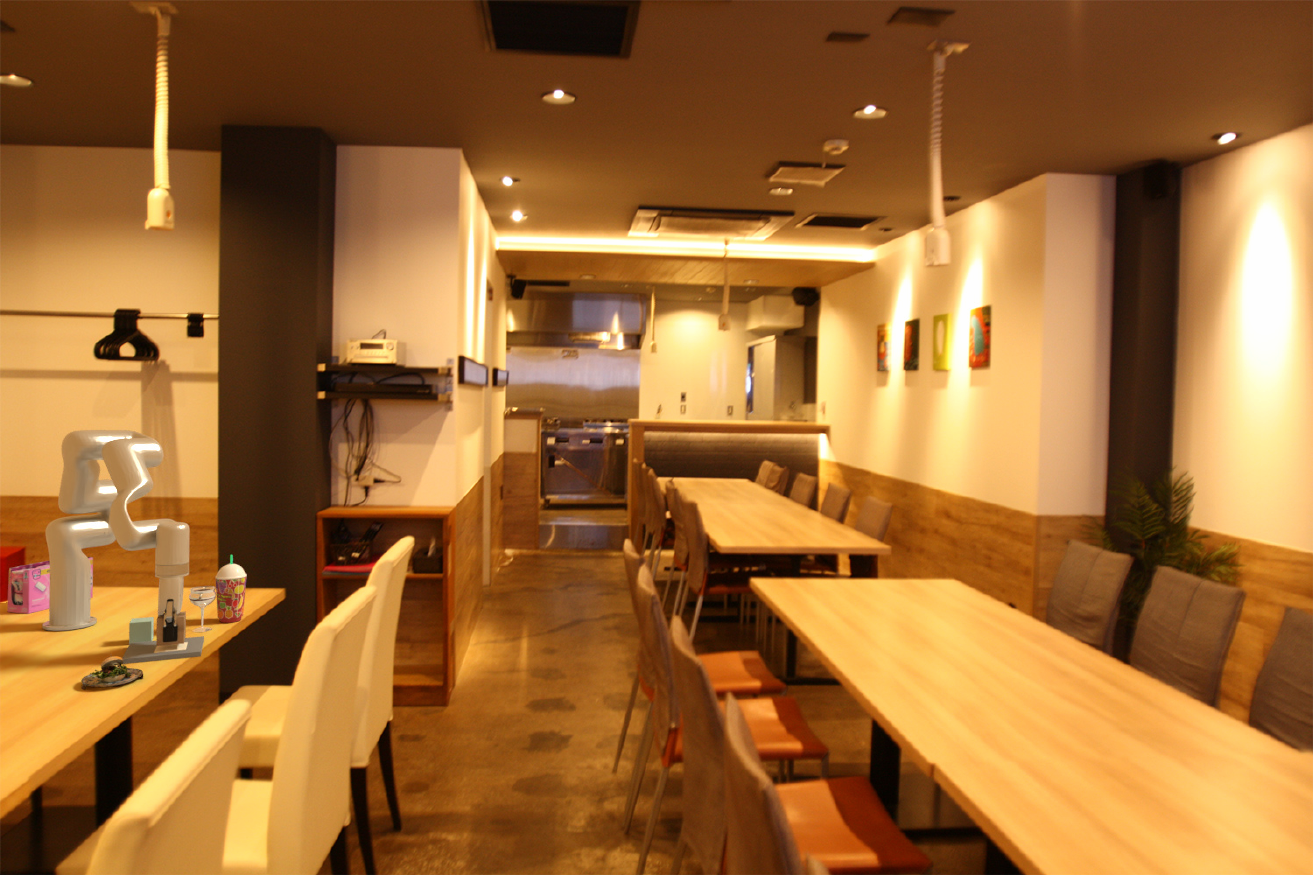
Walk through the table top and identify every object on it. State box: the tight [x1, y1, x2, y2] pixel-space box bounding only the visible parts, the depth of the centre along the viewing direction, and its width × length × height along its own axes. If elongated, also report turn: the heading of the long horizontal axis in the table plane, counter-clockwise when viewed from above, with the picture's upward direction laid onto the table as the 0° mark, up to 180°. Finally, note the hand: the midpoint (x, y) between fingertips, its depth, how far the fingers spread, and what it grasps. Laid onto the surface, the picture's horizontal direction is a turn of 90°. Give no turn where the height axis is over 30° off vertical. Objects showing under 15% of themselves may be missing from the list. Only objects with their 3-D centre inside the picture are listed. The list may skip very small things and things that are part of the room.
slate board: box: [121, 636, 205, 665], centre depth 204 cm, size 15×17×1 cm
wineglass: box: [188, 585, 217, 633], centre depth 224 cm, size 7×7×12 cm
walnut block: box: [156, 610, 187, 646], centre depth 203 cm, size 6×6×7 cm
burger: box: [80, 655, 144, 691], centre depth 181 cm, size 12×12×8 cm
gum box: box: [7, 556, 94, 615], centre depth 246 cm, size 24×8×14 cm, turn 171°
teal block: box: [128, 616, 155, 645], centre depth 212 cm, size 5×5×6 cm
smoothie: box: [215, 554, 248, 624], centre depth 234 cm, size 8×8×20 cm
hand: (171, 637), depth 203 cm, fingers closed on walnut block, 6 cm apart
